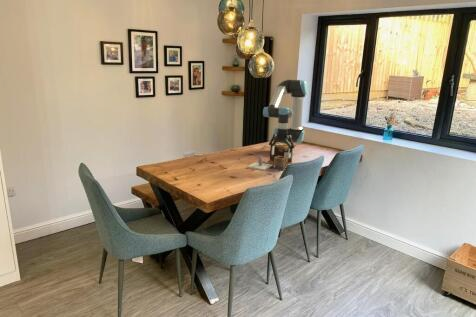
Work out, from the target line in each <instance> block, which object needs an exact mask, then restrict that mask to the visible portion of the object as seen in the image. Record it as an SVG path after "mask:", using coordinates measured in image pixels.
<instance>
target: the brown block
mask: <svg viewBox="0 0 476 317" xmlns="http://www.w3.org/2000/svg"><path fill="white" fill-rule="evenodd" d="M287 162H288V157H284V156H277V157H275V158H274V163H273V167H274V166H280V167H284V166H286V167H287V166H288V165H287Z"/></svg>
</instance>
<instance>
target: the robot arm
mask: <svg viewBox="0 0 476 317" xmlns="http://www.w3.org/2000/svg"><path fill="white" fill-rule="evenodd" d="M308 88H309V87H308V81H306V80H303V79H286V80H283V81H281V82H280V83H279V84H278V85H276V88H275V91H274V92H275V93H274V94H273V96H272V98H271V101H270V102H269V105H268V106H264V108H263V110H262V115H263V117H265V118H275V119H276V118H277V120H278V121H277V127H275V128H274V131H273V135H272V137H271V139H270V141H269V142H268V145H269V146H270V147H271V150H272V155H273V154H274V146H273V145H274V144H275V143H277V142H281V143H285V144H287V145H288V146H289V148H290V149H289V154H288V157H291V153H292V154H293V151H292V149H296V146H295V143H296V144H301V143H303V140H304V139H305V134H306V131H305V129H304V127H303V126H302V124H303V123H302V122H303V108H304V106H303V105H304V99H305V97H306V96H307V95H308V91H309V90H308ZM287 94H289V95H290V96H291V98H292V108H290V107H287V106H282V107H280V105H281V103H282V100H283V98H284V97H285V96H286V95H287ZM290 119H291V125H290V126H289V120H290Z"/></svg>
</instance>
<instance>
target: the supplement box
mask: <svg viewBox="0 0 476 317" xmlns="http://www.w3.org/2000/svg"><path fill="white" fill-rule="evenodd" d="M273 146H274V154H273V155H272V150H271V146H270V150H269V163H272V164H274V158H275V157H277V156H284V157H288V154H289V149H290V148H289V146H288V145H287V144H285V143H281V142H277V143H275V144H274V145H273ZM293 149H294V148H293ZM293 149H292V153H291V157H288V162H287V165H286V166H289V165H288V164H290V165H292V164H293V151H294V150H293ZM291 163H292V164H291Z"/></svg>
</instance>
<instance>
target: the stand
mask: <svg viewBox="0 0 476 317" xmlns="http://www.w3.org/2000/svg"><path fill="white" fill-rule="evenodd" d="M273 167H274V168H273V169H274V170H277V171H282V172H284V169H285V167H286V168H287V165H286V166H284V167H280V166H274V165H273ZM285 170H286V169H285Z"/></svg>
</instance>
